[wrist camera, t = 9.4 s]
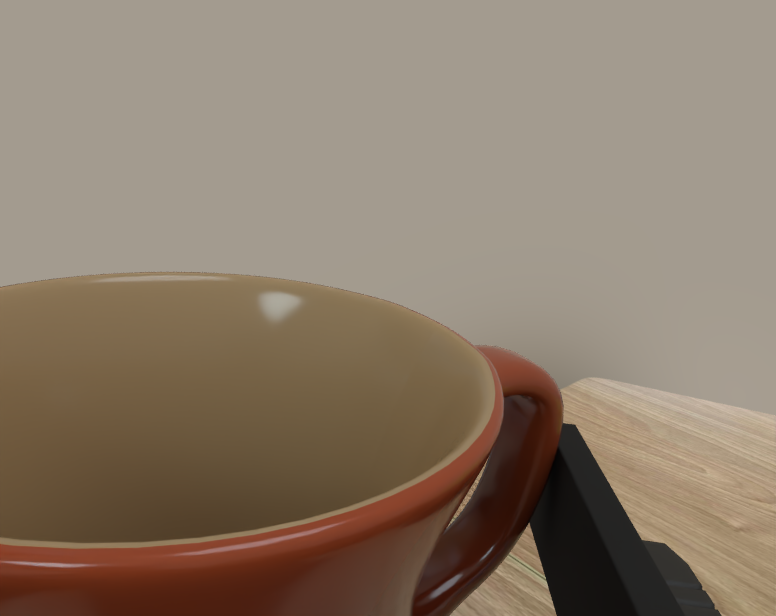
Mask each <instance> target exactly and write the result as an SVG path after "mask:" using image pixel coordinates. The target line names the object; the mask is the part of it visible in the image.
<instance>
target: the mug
mask: <svg viewBox="0 0 776 616" xmlns="http://www.w3.org/2000/svg"><path fill="white" fill-rule="evenodd" d="M563 408H564V405H563V400H562V396H561V392H560V390H559V388H558V386H557V384H556V382H555V380H554V379H553V378H552V377H551V376H550V375H549V374H548V373H547V372H546V371H545V370H544V369H543V368H542V367H540V366H539V365H537V364H535V363H534V362H532V361H530V360H529V359H527V358H525V357H523V356H521V355H519V354H517V353H515V352H513V351H511V350H507V349H504V348H501V347H496V346H487V345H475V346H474V345H472V344H471V343H470V342H469V341H467V340H466V339H464V338H463V337H462V336H460V335H459V334H457V333H456V332H454V331H453V330H451V329H449V328H448V327H446V326H444V325H442V324H440V323H438V322H437V321H434V320H432V319H430V318H428V317H426V316H424V315H422V314H420V313H417V312H415V311H413V310H410V309H408V308H406V307H403V306H401V305H398V304H395V303H392V302H389V301H386V300H383V299H379V298H375V297H372V296H368V295H364V294H360V293H355V292H351V291H347V290H342V289H337V288H333V287H328V286H323V285H316V284H311V283H306V282H300V281H292V280H286V279H278V278H270V277H260V276H250V275H238V274H222V273H200V272H140V273H117V274H100V275H87V276H77V277H68V278H67V277H66V278H57V279H49V280H41V281H34V282H28V283H21V284H15V285H9V286H3V287H0V616H450V614H451V613H452V612H453V611H454V610H455V609H456V608H457V607H458V606H459V605H460V604H461V603H462V602H463V601H464V600H465V599H466V598H467V597H468V596H469V595H470V594H471V593H472V592H473V591H474V590H475V589H477V588H478V587H479V586H480V585H481V584H482V583H483V582H484V581H485V580H486V579H487V578H488V577H489V576H490V575H491V574H492V573H493V572H494V571H495V570H496V569H497V567H498V566H499V565H500V564H501V563H502V562H503V560H504V559H505V558H506V557H507V555H508V554H509V553H510V551H511V550H512V549H513V547H514V546H515V544H516V543H517V541H518V540H519V538H520V537H521V535H522V533H523V532H524V530H525V528H526V527H527V525H528V523H529V521H530V520H531V518H532V516H533V514H534V512H535V510H536V508H537V506H538V504H539V501H540V499H541V497H542V495H543V492H544V490H545V487H546V485H547V482H548V479H549V476H550V474H551V471H552V467H553V464H554V461H555V457H556V454H557V449H558V446H559V442H560V438H561V432H562V425H563ZM488 457H489V458H488ZM487 459H488V461H487ZM486 461H487V464H486V467H485V469H484V472H483V474H482V477H481V479H480V481H479V483H478V485H477V488H476V490H475V491H474V493H473V495H472V497H471V499H470V500H469V502H468V503H467V505H466V506H465V508H464V509H463V511H462V512H461V513H460V514H459V516H458V517H457V518H456V519H455V520H454V521H453V523H452V524H451V525H450V526H449V527H448V528H447V526H448V525H449V523H450V521H451V519H452V518H453V516H454V514H455V513H456V511H457V509H458V508H459V506H460V504H461V503H462V501H463V499H464V498H465V496H466V494H467V493H468V491H469V489H470V488H471V486H472V485H473V483H474V481H475V480H476V478H477V476H478V475H479V473H480V471H481V470H482V468H483V466H484V464H485V462H486Z"/></svg>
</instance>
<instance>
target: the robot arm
mask: <svg viewBox="0 0 776 616" xmlns="http://www.w3.org/2000/svg"><path fill="white" fill-rule="evenodd" d="M529 523H530V526H531V529H532V533H533V536H534V540H535V543H536V546H537V550H538V553H539V557H540V560H541V563H542V567H543V570H544V574H545V577H546V580H547V584H548V587H549V591H550V594H551V597H552V601H553V604H554V608H555V611H556V614H557V616H721V614H720V613H719V611H718V610H715V607H714V606H715V605H714V603H713V602H712V600H711V599H710V597H709V596H708V594H707V593H706V591H703V590H702V585H701V584H700V582H699V581H698V579H697V578H696V576H695V574H694V573H693V571H692V570H691V568H690V567H689V565H688V564H687V563H686V562H685V561H684V560H683V559H681V558H680V557H679V556H678V555H677V554H676V553H675V552H674V551H673V550H672V549H670V548H669V547H668V546H667V545H666V544H664V543H658V542H651V541H644V540H641V538H640V536H639V534H638V533H637V531H636V529H635V528H634V526H633V524H632V522H631V521H630V519H629V517H628V515H627V514H626V512H625V510H624V509H623V507H622V505H621V503H620V502H619V500H618V498H617V496H616V495H615V493H614V491H613V489H612V488H611V486H610V484H609V483H608V481H607V479H606V477H605V476H604V474H603V472H602V470H601V469H600V467H599V465H598V464H597V462H596V460H595V458H594V457H593V455H592V453H591V451H590V450H589V448H588V446H587V444H586V443H585V441H584V439H583V438H582V436H581V434H580V432H579V431H578V429H577V427H576V425H572V424H565V423H563V425H562V432H561V438H560V442H559V446H558V449H557V454H556V457H555V461H554V464H553V467H552V471H551V474H550V476H549V479H548V482H547V485H546V487H545V490H544V492H543V495H542V497H541V499H540V501H539V504H538V506H537V508H536V510H535V512H534V514H533V516H532V518H531V520H530V521H529Z"/></svg>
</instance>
